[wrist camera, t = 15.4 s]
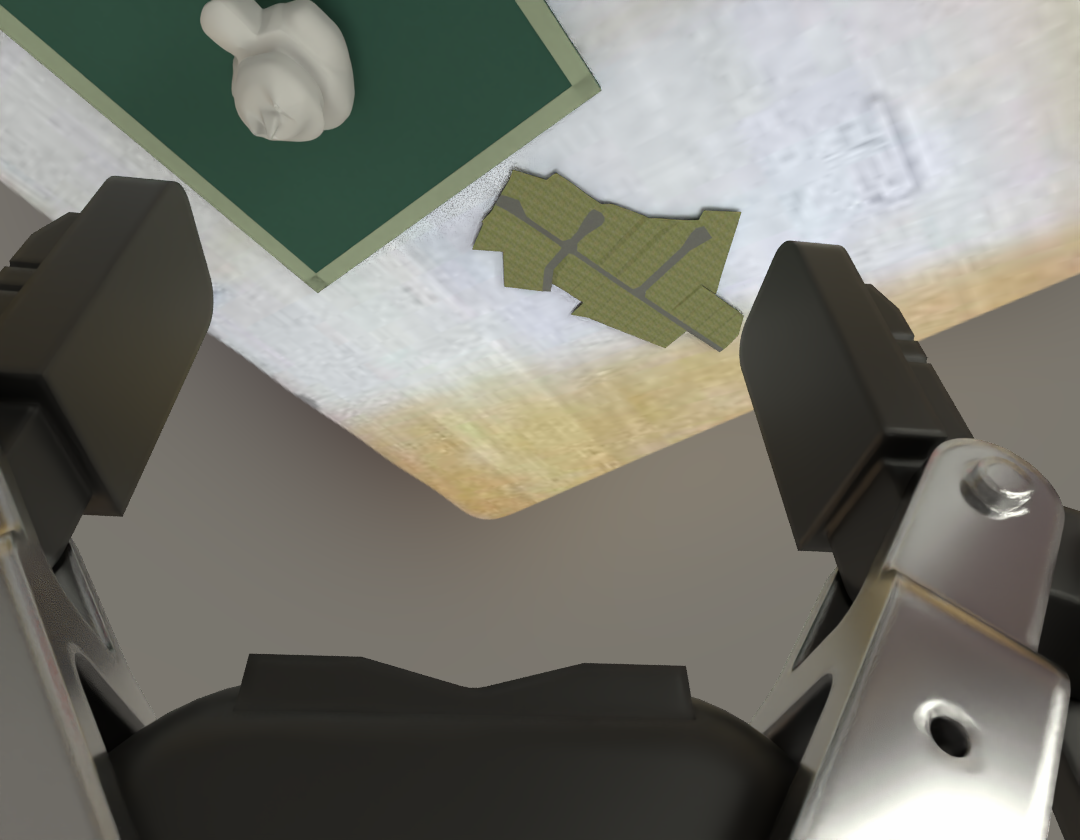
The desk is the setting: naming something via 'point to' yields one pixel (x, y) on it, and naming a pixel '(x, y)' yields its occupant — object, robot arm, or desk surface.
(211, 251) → the desk surface
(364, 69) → the chalkboard
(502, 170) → the desk surface
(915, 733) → the robot arm
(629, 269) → the map
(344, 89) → the grey rounded figure
